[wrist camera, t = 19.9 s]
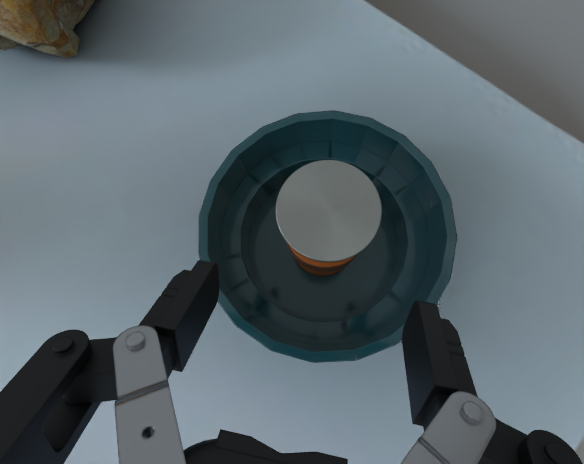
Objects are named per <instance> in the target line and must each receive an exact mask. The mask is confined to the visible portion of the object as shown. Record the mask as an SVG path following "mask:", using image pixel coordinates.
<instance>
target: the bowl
mask: <svg viewBox="0 0 584 464" xmlns="http://www.w3.org/2000/svg"><path fill="white" fill-rule="evenodd" d="M321 160H335V161H341V162H345V163H348V164H350V165H352V166H354V167H356V168H358V169H359V170H361V171H362V172H363V173H364V174H365V175H366V176H368V178H369V179H370V180H371V181H372V183H373V184H374V186H375V187H376V189H377V192H378V194H379V197H380V201H381V208H382V214H381V221H380V225H379V228H378V231H377V233H376V235H375V236H374V238H373V240H372V241H371V242H370V243H369V245H368V246H367V247H366V248H365V249H363V250H362V251H361V252H360V253H359V254H358V255H357V256H356V257H355V258H354V259H353V260H352V261H351V262H350V263H349V264H348V265H346V266H345V267H344V268H343V269H342V270H341V271H339V272H337V273H335V274H333V275H329V276H317V275H313V274H310V273H308V272H306V271H305V270H303V269H302V268H301V267H300V266H299V265H298V264H297V262H296V261H295V259H294V257H293V255H292V253H291V251H290V249H289V247H288V245H287V243H286V241H285V239H284V238H283V236H282V234H281V232H280V230H279V227H278V224H277V220H276V202H277V197H278V194H279V192H280V190H281V187H282V186H283V184H284V183H285V181H286V180H287V179H288V178H289V176H290V175H291V174H293V173H294V172H295V171H296V170H298V169H299V168H301V167H303V166H305V165H307V164H309V163H312V162H316V161H321ZM456 243H457V234H456V227H455V221H454V215H453V209H452V203H451V199H450V196H449V194H448V192H447V190H446V188H445V186H444V184H443V183H442V181H441V179H440V177H439V175H438V173H437V171H436V169H435V167H434V165H433V164H432V162H431V161H430V160H429V159H428V158H427V157H426V156H425V155H424V154H423V153H422V152H421V151H420V150H419V149H418V148H417V147H416V146H415V145H414V144H413V143H412V142H411V141H410V140H409V139H408V138H407V137H406V136H404V135H403V134H401V133H399V132H397V131H395V130H393V129H391V128H389V127H387V126H385V125H384V124H382V123H380V122H378V121H376V120H374V119H372V118H369V117H364V116H359V115H354V114H349V113H344V112H339V111H322V112H310V113H298V114H294V115H292V116H289V117H286V118H284V119H281V120H279V121H276V122H273V123H271V124H268V125H266V126H263V127H262V128H260V129H258V130H257V131H256V132H255V133H253V134H252V135H251V136H249V137H248V138H247V139H246V140H244V141H243V142H242V143H240V144H239V145H238V146H236V147H235V148H234V149H233V150H232V151H231V152H230V154H229V155H228V156H227V158H226V159H225V161H224V162H223V163H222V165H221V166H220V168H219V169H218V170H217V172H216V173H215V175H214V176H213V177H212V179H211V181H210V183H209V186H208V190H207V193H206V196H205V199H204V202H203V205H202V208H201V211H200V214H199V258H200V260H203V261H209V262H214V263H217V264H218V271H219V297H218V301H217V302H218V303H219V304H220V306H221V307H222V309H223V310H224V311H225V313H226V314H227V315H228V317H229V318H230V319H231V321H232V322H233V323H234V325H235V326H236V327H237V328H239V329H240V330H242V331H243V332H245V333H246V334H247V335H249V336H250V337H252V338H253V339H255V340H256V341H258V342H259V343H260V344H262V345H263V346H265V347H266V348H268V349H269V350H271V351H274V352H277V353H281V354H284V355H288V356H291V357H294V358H298V359H301V360H305V361H308V362H313V363H317V362H338V361H356V360H359V359H362V358H364V357H367V356H369V355H372V354H374V353H377V352H379V351H382V350H384V349H387V348H389V347H392V346H394V345H396V344H398V343H399V342H400V341H402V333H403V328H404V325H405V322H406V320H407V318H408V315H409V313H410V310H411V308H412V305H413V303H414V301H416V300H417V301H423V302H428V303H434V304H437V302H438V300H439V298H440V297H441V295H442V293H443V291H444V289H445V288H446V286H447V284H448V282H449V280H450V278H451V272H452V266H453V260H454V254H455V248H456Z"/></svg>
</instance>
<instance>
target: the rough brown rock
mask: <svg viewBox="0 0 584 464" xmlns="http://www.w3.org/2000/svg"><path fill="white" fill-rule="evenodd" d="M94 1H95V0H0V50H7V49H12V48H15V47H17V46H19V45H23V46H29V47H32V48H34V49H36V50H38V51H40V52H44V53H48V54H51V55H55V56H60V57H64V58H67V57H74V56H75V55H76V54H77V52H78V46H79V42H80V39H79V38H78V36H77V35H76V34H75V32H74V30H73V29H74V28H75V25H76V24H78V23H79V22H80V21H81V20H82V19H83V17H84V16H85V15H86V13H87V12H88V10H89V8H90V7H91V5H92V4H93V2H94Z"/></svg>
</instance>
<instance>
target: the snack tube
mask: <svg viewBox="0 0 584 464" xmlns="http://www.w3.org/2000/svg"><path fill="white" fill-rule="evenodd" d="M381 214H382V208H381V201H380V197H379V194H378V192H377V189H376V187H375V186H374V184H373V183H372V181H371V180H370V179H369V178H368V176H366V175H365V174H364V173H363V172H362V171H361V170H359V169H358V168H356V167H354V166H352V165H350V164H348V163H345V162H341V161H335V160H321V161H316V162H312V163H309V164H307V165H305V166H303V167H301V168H299V169H298V170H296V171H295V172H294V173H293V174H291V175H290V176H289V178H288V179H287V180H286V181H285V183H284V184H283V186H282V187H281V190H280V192H279V194H278V197H277V202H276V220H277V224H278V227H279V230H280V232H281V234H282V236H283V238H284V239H285V241H286V243H287V245H288V247H289V249H290V251H291V253H292V255H293V257H294V259H295V261H296V262H297V264H298V265H299V266H300V267H301V268H302V269H303V270H305V271H306V272H308V273H310V274H313V275H317V276H329V275H333V274H335V273H337V272H339V271H341V270H342V269H343V268H344V267H345V266H346V265H348V264H349V263H350V262H351V261H352V260H353V259H354V258H355V257H356V256H357V255H358V254H359V253H360V252H361V251H362V250H363V249H365V248H366V247H367V246H368V245H369V243H370V242H371V241H372V240H373V238H374V236H375V235H376V233H377V231H378V228H379V225H380V221H381Z"/></svg>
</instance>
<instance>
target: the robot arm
mask: <svg viewBox="0 0 584 464" xmlns="http://www.w3.org/2000/svg"><path fill="white" fill-rule="evenodd" d="M218 297H219V271H218V264H217V263H214V262H209V261H203V260H199V261H197V263H196V264H195V266H194V267H193V269H192V270H191V271H188V270H183V271H182V272H180V273H179V274H177V275H176V276H174V277H173V279H172V280H171V281H170V283H169V284H168V286H167V288H165V290H164V291H163V292H162V294H161V296H160V297H159V298H158V299H157V301H156V302H155V303H154V305H153V306H152V308H151V309H150V310H149V312H148V313H147V315H146V316H145V317H144V319H143V320H142V321H141V323H140V324H139V325H138V326H134V327H131V328H129V329H127V330H125V331H123V332H122V333H121V334H120V335H119V336H118V337H116V338H108V339H95V340H89V338H88V336H87V334H86V333H85V332H83V331H80V330H67V331H63V332H60V333H58V334H56V335H54V336H52V337H51V338H49V339H48V340H47V341H46V342H45V343H44V344H43V345H42V346H41V347H40V348H39V349H38V351H37V352H36V353H35V354H34V355H33V356H32V357H31V358H30V359H29V361H28V362H27V363H26V364H25V365H24V366H23V367H22V368H21V370H20V371H19V372H18V373H17V374H16V375H15V376H14V377H13V379H12V380H11V381H10V382H9V383H8V384H7V385H6V386H5V387H4V389H3V390H2V391H1V392H0V464H64V462H65V461H66V459H67V457H68V456H69V454H70V452H71V451H72V449H73V447H74V446H75V444H76V442H77V441H78V439H79V438H80V436H81V434H82V433H83V431H84V429H85V428H86V426H87V424H88V423H89V421H90V419H91V418H92V416H93V415H94V413H95V411H96V410H97V408H98V406H99V405H100V403H101V402H102V401H111V400H116V401H115V417H116V430H117V443H118V455H119V464H347V463H348V459H345V458H341V457H336V456H332V455H328V454H324V453H319V452H300V453H279V452H277V451H276V450H274V449H272V448H270V447H269V446H267V445H265V444H263V443H261V442H260V441H258V440H256V439H254V438H253V437H251V436H247V435H242V434H238V433H234V432H230V431H225V430H221V429H220V432H219V435H218V438H217V439H211V440H206V441H202V442H200V443H197V444H194V445H192V446H190V447H188V448H187V449H185V450H183V447H182V442H181V438H180V433H179V429H178V424H177V420H176V415H175V411H174V406H173V402H172V397H171V392H170V388H169V383H168V378H169V376H170V374H171V372H172V370H175V371H180V372H182V371H183V369H184V367H185V365H186V363H187V361H188V359H189V357H190V355H191V353H192V351H193V349H194V347H195V345H196V343H197V341H198V339H199V337H200V335H201V333H202V331H203V330H204V328H205V326H206V324H207V322H208V320H209V318H210V316H211V314H212V312H213V310H214V308H215V306H216V304H217V301H218ZM402 344H403V352H404V360H405V368H406V376H407V383H408V391H409V399H410V407H411V415H412V423H413V424H416V425H421V426H423V428H424V433H423V434H422V436H421V437H420V438H419V439H418V440H417V441H416V443H415V444H414V445H413V447H412V448H411V450H410V451H409V452H408V454H407V455H406V457H405V458H404V459H403V461H402V462H401V464H582V462H581V460H580V458H579V457H578V455H577V454H576V453H575V451H574V450H573V449H572V448H571V447H570V446H569V445H568V444H567V443H566V442H565V441H564V440H562V439H561V438H559V437H558V436H556V435H554V434H552V433H550V432H547V431H544V430H534V431H532V432H531V433H530V434H529V435H526V434H524V433H522V432H520V431H518V430H516V429H514V428H512V427H510V426H508V425H506V424H504V423H503V422H501V421H499V420H498V419H496V418H495V417H494V415H493V413H492V411H491V410H490V408H489V407H488V406H487V405H486V404H485V403H484V402H483V401H482V400H481V399H480V398H478V396H477V393H476V390H475V387H474V384H473V380H472V377H471V374H470V371H469V367H468V364H467V361H466V358H465V357H464V351H463V348H462V346H461V341H460V338H459V335H458V332H457V330H456V329H455V328H454V326H453V325H452V324H451V323H450V321H449V320H446V319H441V318H440V314H439V311H438V307H437V305H436V304H434V303H428V302H423V301H417V300H416V301H414V303H413V305H412V308H411V310H410V313H409V315H408V318H407V320H406V322H405V325H404V328H403V333H402Z"/></svg>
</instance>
